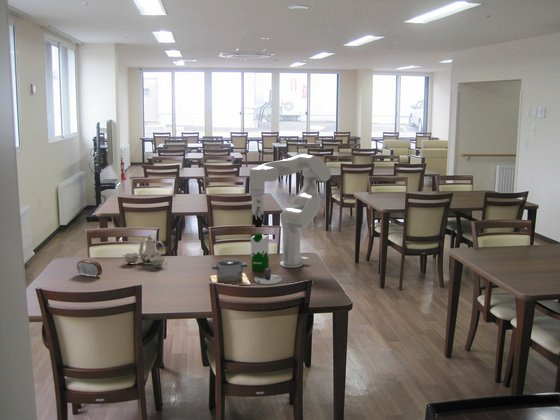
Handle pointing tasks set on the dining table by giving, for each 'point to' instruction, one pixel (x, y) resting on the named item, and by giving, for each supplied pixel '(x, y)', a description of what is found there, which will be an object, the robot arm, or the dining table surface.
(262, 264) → the soya milk
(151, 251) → the chinaware
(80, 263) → the tin
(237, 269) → the pot
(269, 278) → the lid
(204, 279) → the dining table surface
